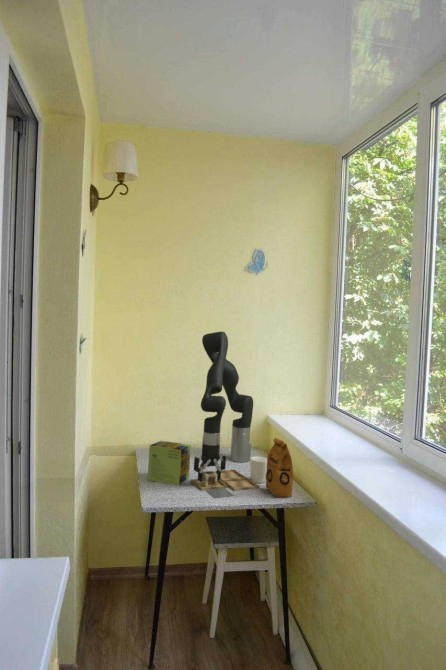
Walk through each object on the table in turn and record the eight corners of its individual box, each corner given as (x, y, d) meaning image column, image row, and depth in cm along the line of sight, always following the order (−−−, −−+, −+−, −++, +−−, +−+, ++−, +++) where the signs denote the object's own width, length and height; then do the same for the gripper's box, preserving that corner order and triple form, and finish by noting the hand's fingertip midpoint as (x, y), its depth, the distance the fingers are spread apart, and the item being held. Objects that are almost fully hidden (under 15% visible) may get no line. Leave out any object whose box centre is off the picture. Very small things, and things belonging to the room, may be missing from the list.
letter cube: (212, 482, 223) (212, 470, 223) (216, 486, 218) (217, 474, 218) (201, 483, 221) (202, 471, 221) (206, 487, 216) (206, 475, 216)
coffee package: (272, 498, 209) (275, 444, 208) (262, 488, 221) (265, 437, 220) (295, 497, 211) (298, 444, 210) (284, 487, 223) (287, 437, 222)
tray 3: (246, 480, 230) (246, 477, 230) (259, 489, 219) (259, 486, 219) (221, 482, 225) (222, 479, 225) (234, 492, 214) (234, 488, 214)
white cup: (268, 479, 232) (270, 457, 232) (264, 484, 225) (265, 462, 225) (252, 477, 235) (253, 455, 235) (247, 482, 228) (248, 459, 227)
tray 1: (215, 480, 228) (216, 477, 228) (227, 489, 217) (227, 485, 217) (190, 482, 223) (190, 479, 223) (201, 491, 212) (201, 488, 212)
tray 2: (234, 472, 241) (234, 469, 240) (246, 480, 230) (246, 477, 230) (210, 474, 235) (210, 471, 235) (221, 482, 225) (222, 479, 225)
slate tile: (225, 489, 216) (225, 488, 216) (234, 497, 208) (234, 495, 208) (205, 491, 212) (205, 490, 212) (214, 499, 204) (214, 498, 204)
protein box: (179, 486, 217) (181, 450, 216) (147, 480, 222) (148, 444, 222) (189, 479, 227) (191, 444, 226) (158, 473, 232) (160, 439, 232)
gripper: (222, 439, 225) (220, 476, 226) (192, 441, 219) (190, 479, 220) (230, 443, 219) (227, 481, 219) (199, 445, 213) (196, 484, 213)
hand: (209, 480), depth 220 cm, fingers open, 7 cm apart
